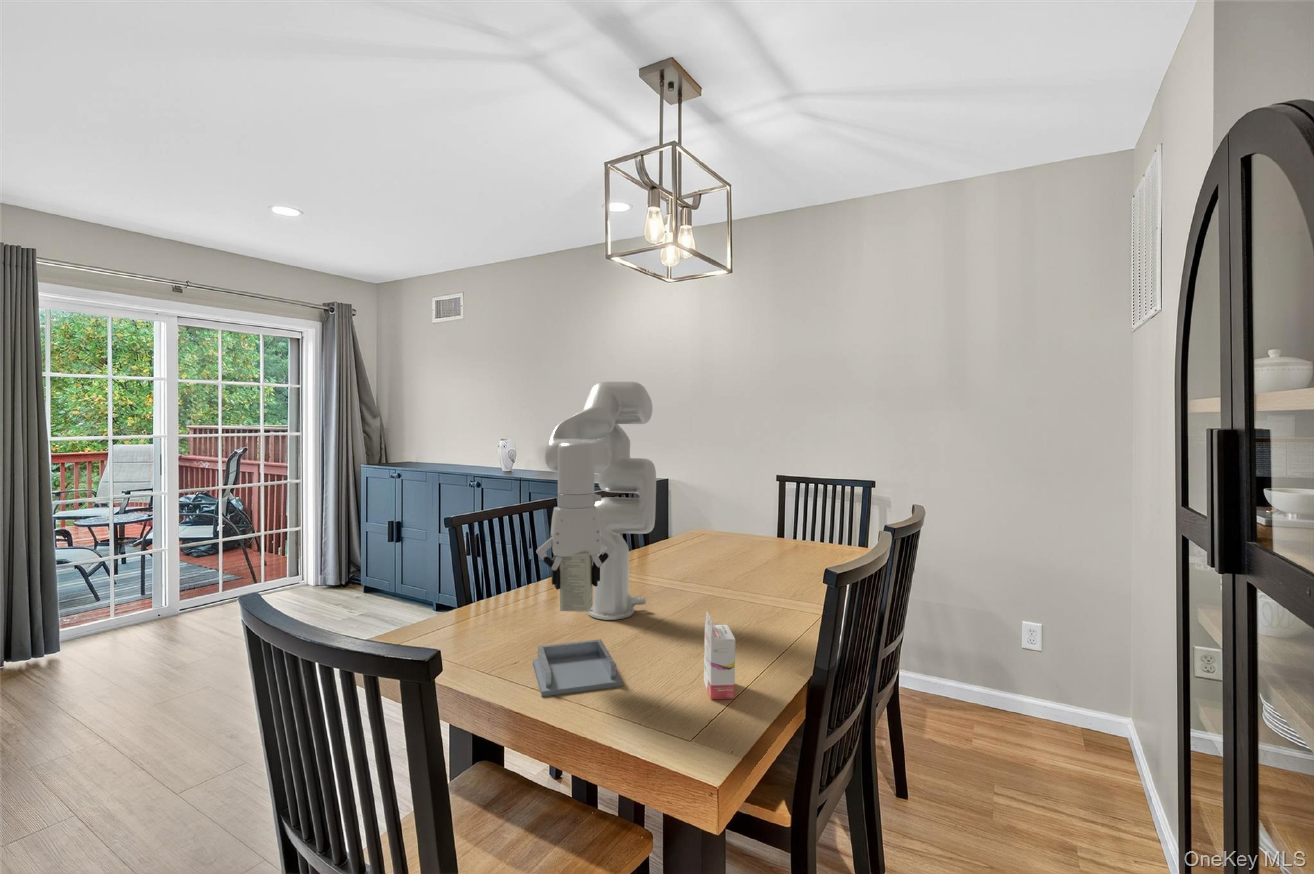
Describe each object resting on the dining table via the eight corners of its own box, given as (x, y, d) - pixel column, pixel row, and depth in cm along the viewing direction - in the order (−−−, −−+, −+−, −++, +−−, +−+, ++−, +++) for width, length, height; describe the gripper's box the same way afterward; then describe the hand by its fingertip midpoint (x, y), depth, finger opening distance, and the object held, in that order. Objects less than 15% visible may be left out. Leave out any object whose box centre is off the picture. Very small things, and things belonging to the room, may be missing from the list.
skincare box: (592, 605, 129) (593, 548, 128) (588, 612, 125) (588, 553, 124) (563, 604, 130) (563, 548, 129) (558, 611, 125) (558, 552, 125)
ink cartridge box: (735, 699, 117) (736, 624, 117) (710, 700, 117) (711, 624, 116) (727, 680, 126) (727, 609, 125) (703, 680, 125) (703, 609, 125)
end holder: (604, 655, 138) (604, 638, 138) (622, 686, 122) (622, 666, 122) (532, 663, 133) (532, 645, 133) (541, 696, 118) (541, 676, 117)
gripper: (612, 497, 132) (612, 578, 133) (531, 500, 127) (531, 584, 128) (621, 502, 125) (621, 588, 126) (535, 505, 120) (535, 595, 121)
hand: (575, 585), depth 127 cm, fingers closed on skincare box, 7 cm apart
